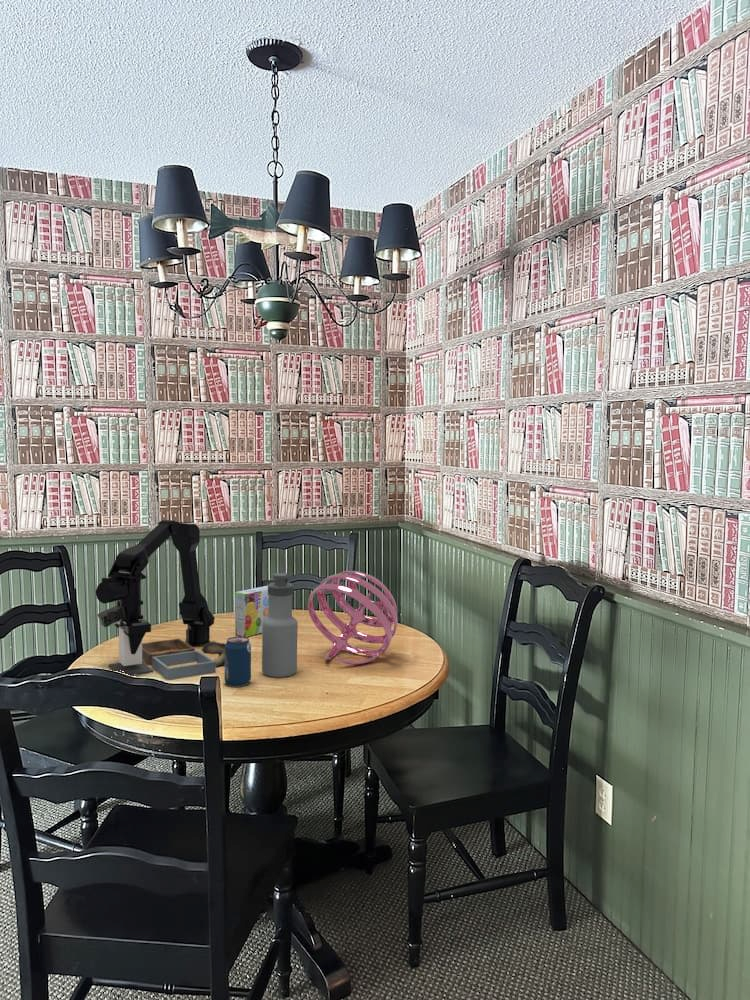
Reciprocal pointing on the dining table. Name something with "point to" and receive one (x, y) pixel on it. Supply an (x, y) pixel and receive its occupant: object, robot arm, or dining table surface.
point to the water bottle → (279, 630)
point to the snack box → (251, 610)
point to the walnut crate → (164, 648)
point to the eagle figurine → (215, 651)
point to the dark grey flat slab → (131, 668)
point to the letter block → (128, 650)
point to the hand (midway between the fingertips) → (130, 651)
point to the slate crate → (202, 667)
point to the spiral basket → (355, 614)
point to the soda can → (237, 661)
